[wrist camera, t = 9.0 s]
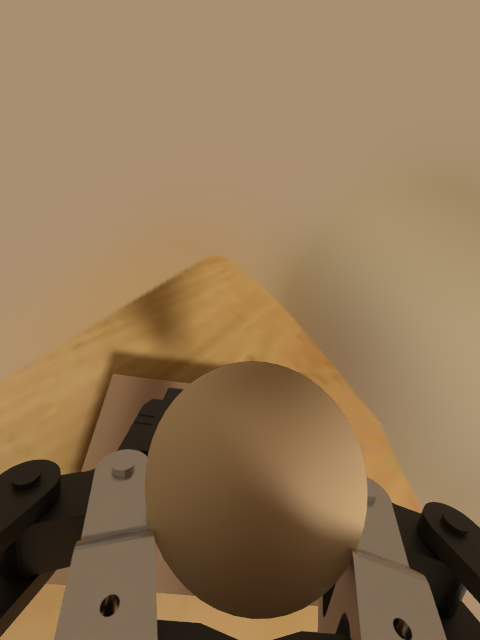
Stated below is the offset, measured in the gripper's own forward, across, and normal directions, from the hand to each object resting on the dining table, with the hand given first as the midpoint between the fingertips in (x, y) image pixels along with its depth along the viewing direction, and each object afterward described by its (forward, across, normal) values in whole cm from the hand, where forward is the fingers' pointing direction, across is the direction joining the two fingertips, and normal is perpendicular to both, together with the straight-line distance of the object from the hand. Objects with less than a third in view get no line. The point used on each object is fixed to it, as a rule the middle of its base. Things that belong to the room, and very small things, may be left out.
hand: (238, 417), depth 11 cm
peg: (+2, 0, +5) cm, 5 cm away
